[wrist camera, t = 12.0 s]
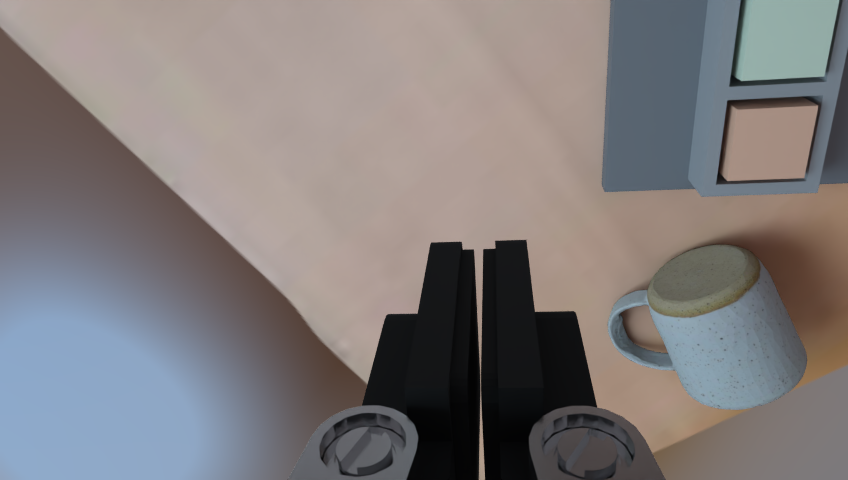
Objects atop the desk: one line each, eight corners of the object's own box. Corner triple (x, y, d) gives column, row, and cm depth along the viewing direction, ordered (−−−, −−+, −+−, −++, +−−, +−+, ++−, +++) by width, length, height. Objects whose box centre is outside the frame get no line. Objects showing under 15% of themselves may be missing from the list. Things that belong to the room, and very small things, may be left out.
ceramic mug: (736, 220, 41) (783, 281, 34) (779, 314, 44) (831, 388, 37) (584, 287, 44) (599, 354, 37) (633, 370, 47) (655, 447, 40)
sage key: (732, -8, 34) (753, -2, 31) (812, -14, 33) (840, -8, 30) (722, 69, 35) (741, 81, 33) (798, 64, 35) (824, 76, 32)
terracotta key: (718, 95, 36) (737, 109, 33) (793, 92, 35) (818, 105, 33) (710, 162, 38) (727, 181, 35) (781, 159, 37) (804, 178, 35)
